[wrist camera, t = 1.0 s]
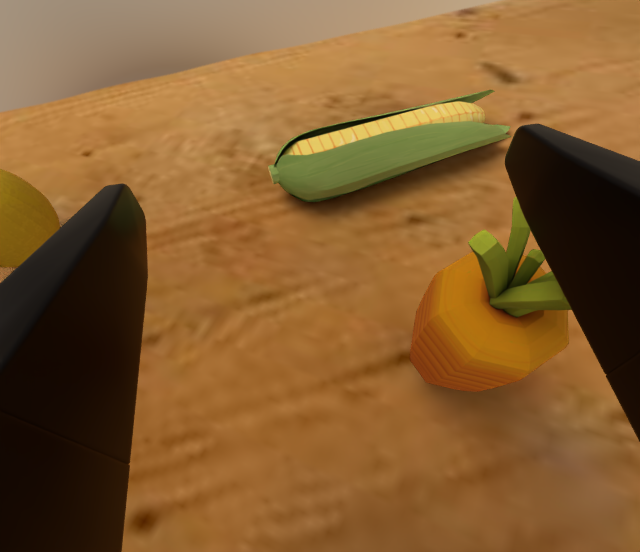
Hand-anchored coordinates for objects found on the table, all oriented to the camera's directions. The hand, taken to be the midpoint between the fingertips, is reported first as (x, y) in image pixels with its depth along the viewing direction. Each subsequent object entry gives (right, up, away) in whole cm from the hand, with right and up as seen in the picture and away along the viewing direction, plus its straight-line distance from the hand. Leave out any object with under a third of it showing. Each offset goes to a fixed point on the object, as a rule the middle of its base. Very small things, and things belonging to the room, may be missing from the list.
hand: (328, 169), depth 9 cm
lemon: (-20, -1, +18) cm, 27 cm away
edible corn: (+6, +6, +21) cm, 23 cm away
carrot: (+6, -8, +14) cm, 18 cm away
